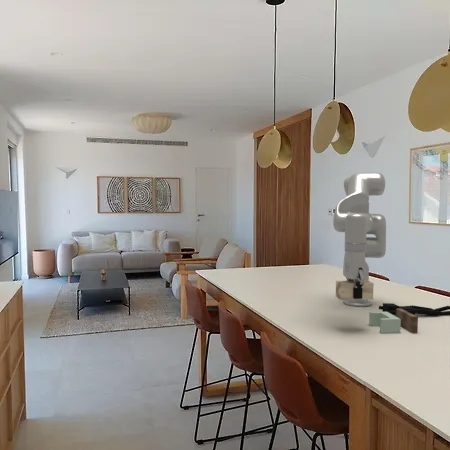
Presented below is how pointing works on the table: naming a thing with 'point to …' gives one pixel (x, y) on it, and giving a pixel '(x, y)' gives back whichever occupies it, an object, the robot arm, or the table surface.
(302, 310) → the table surface
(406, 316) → the board
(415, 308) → the toy
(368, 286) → the beige wooden brick
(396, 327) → the block
